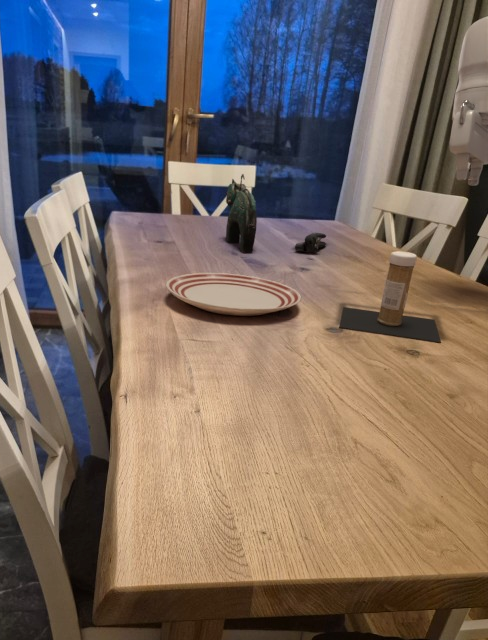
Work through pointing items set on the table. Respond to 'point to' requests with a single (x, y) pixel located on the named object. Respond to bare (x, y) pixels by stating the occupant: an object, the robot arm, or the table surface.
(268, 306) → the dinner plate
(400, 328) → the rubber mat
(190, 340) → the table surface
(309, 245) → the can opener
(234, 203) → the green horse figurine
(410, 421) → the table surface
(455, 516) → the table surface
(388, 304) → the sprinkles bottle
